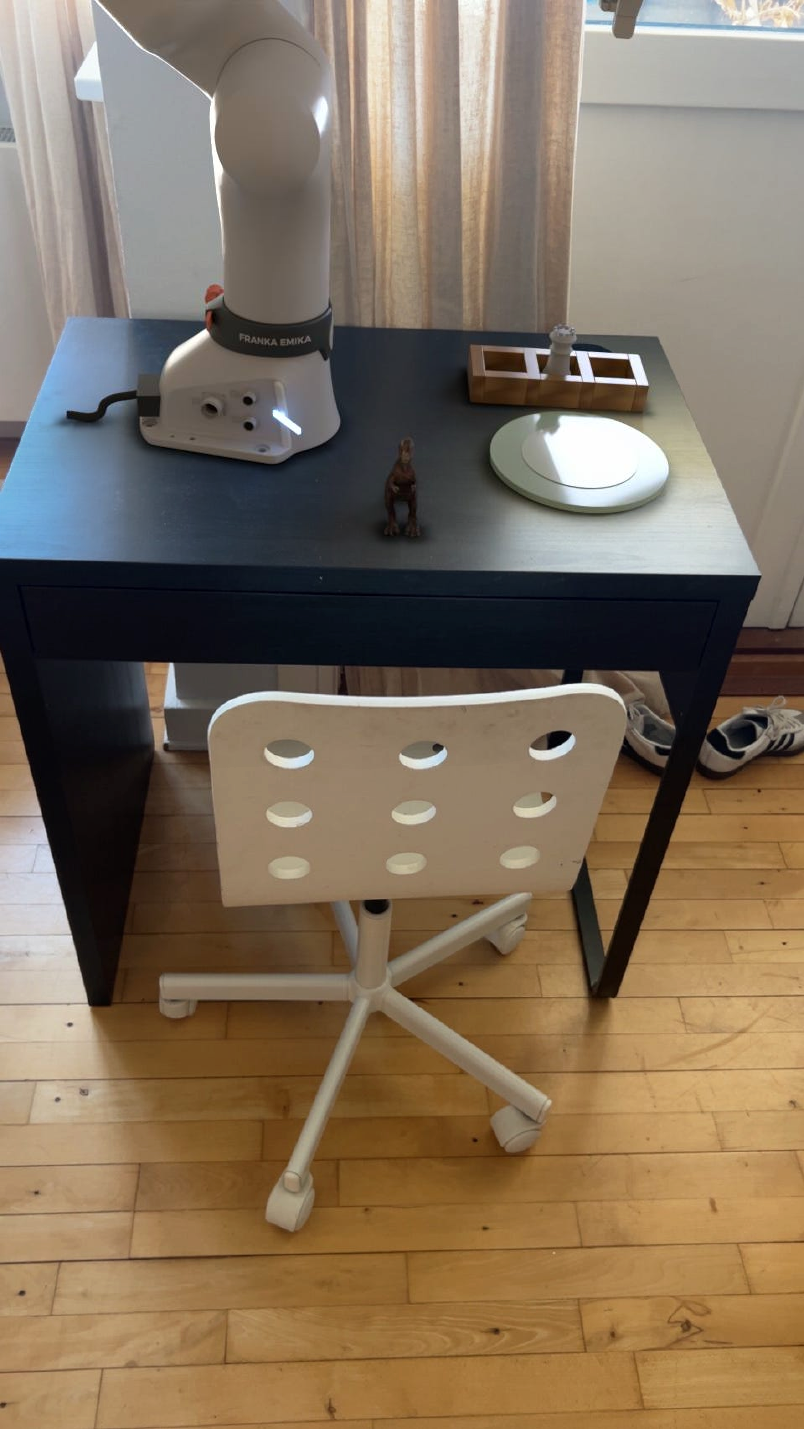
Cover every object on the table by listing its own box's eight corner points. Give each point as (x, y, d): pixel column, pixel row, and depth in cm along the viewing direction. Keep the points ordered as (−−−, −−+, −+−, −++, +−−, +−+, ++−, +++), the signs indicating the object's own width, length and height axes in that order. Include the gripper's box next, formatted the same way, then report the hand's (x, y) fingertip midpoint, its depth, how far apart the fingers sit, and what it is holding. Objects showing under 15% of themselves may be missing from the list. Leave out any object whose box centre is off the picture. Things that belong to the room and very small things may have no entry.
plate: (494, 511, 122) (496, 500, 121) (484, 415, 137) (485, 405, 136) (681, 521, 123) (684, 511, 122) (651, 425, 138) (653, 415, 137)
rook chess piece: (528, 391, 142) (538, 329, 136) (547, 378, 145) (557, 317, 139) (560, 404, 140) (571, 341, 135) (578, 390, 143) (590, 328, 137)
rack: (470, 402, 139) (473, 375, 137) (467, 370, 145) (470, 344, 142) (643, 412, 140) (649, 386, 138) (633, 380, 146) (639, 354, 143)
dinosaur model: (393, 445, 108) (390, 377, 119) (380, 553, 115) (378, 479, 127) (436, 449, 108) (428, 380, 119) (420, 556, 116) (415, 482, 127)
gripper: (594, -183, 105) (568, -7, 114) (625, -148, 90) (593, 50, 100) (663, -177, 105) (632, -2, 115) (705, -142, 90) (666, 56, 100)
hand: (614, 23), depth 107 cm, fingers open, 8 cm apart
